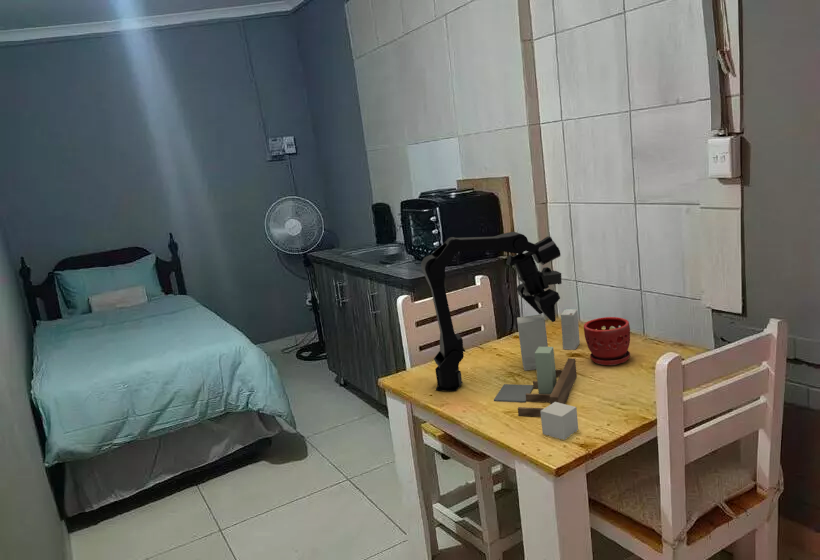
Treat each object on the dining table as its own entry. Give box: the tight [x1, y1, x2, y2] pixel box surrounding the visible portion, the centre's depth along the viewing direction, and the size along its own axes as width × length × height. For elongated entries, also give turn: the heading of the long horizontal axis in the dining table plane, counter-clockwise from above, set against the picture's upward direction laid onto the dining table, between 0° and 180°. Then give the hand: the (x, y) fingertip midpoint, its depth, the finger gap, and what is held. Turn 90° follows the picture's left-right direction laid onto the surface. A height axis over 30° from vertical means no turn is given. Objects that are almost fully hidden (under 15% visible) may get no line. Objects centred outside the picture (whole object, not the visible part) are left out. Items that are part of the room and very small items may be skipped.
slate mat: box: [493, 383, 534, 403], centre depth 173 cm, size 9×11×1 cm
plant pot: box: [583, 316, 631, 366], centre depth 186 cm, size 13×13×12 cm
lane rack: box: [517, 357, 578, 418], centre depth 168 cm, size 10×27×6 cm, turn 156°
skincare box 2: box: [560, 308, 581, 351], centre depth 202 cm, size 6×4×12 cm
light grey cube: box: [540, 402, 579, 441], centre depth 147 cm, size 6×6×6 cm
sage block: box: [535, 346, 558, 394], centre depth 167 cm, size 4×5×13 cm
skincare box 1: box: [516, 313, 549, 372], centre depth 189 cm, size 8×7×16 cm
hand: (547, 317), depth 185 cm, fingers open, 9 cm apart
